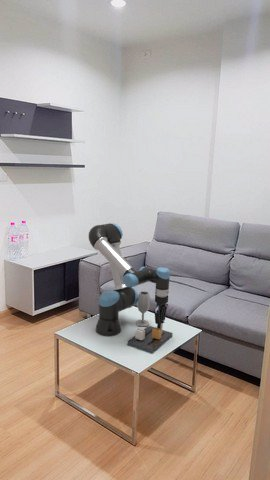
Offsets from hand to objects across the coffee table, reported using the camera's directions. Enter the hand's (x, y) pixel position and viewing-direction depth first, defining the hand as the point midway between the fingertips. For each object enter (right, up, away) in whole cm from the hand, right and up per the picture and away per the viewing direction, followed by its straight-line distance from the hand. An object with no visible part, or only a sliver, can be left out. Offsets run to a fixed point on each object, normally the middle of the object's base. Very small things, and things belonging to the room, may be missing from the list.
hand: (159, 333), depth 210 cm
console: (-5, -4, -1) cm, 7 cm away
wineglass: (-9, +1, +20) cm, 22 cm away
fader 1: (-11, -2, -5) cm, 12 cm away
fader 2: (-2, -2, -3) cm, 4 cm away
